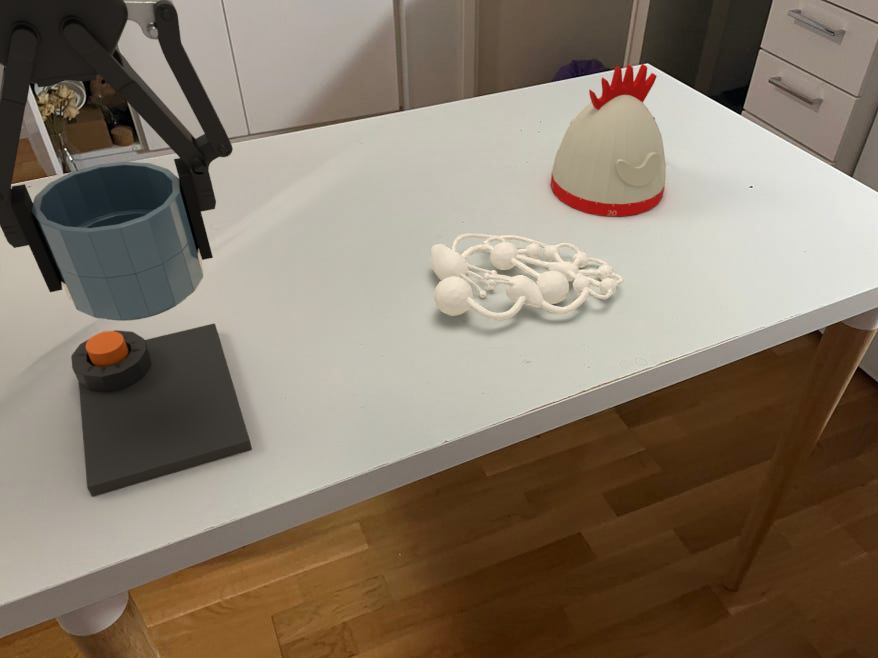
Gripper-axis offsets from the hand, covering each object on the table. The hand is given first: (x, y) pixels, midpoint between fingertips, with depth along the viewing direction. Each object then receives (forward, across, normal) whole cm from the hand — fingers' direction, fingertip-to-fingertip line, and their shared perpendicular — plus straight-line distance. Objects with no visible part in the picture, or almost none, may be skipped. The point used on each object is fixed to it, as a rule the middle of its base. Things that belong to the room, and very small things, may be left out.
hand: (132, 264), depth 53 cm
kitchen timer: (+16, +54, +20) cm, 59 cm away
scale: (+15, -2, +2) cm, 16 cm away
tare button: (+13, -5, +7) cm, 15 cm away
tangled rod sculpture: (+16, +34, +6) cm, 38 cm away
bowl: (+2, 0, 0) cm, 2 cm away
